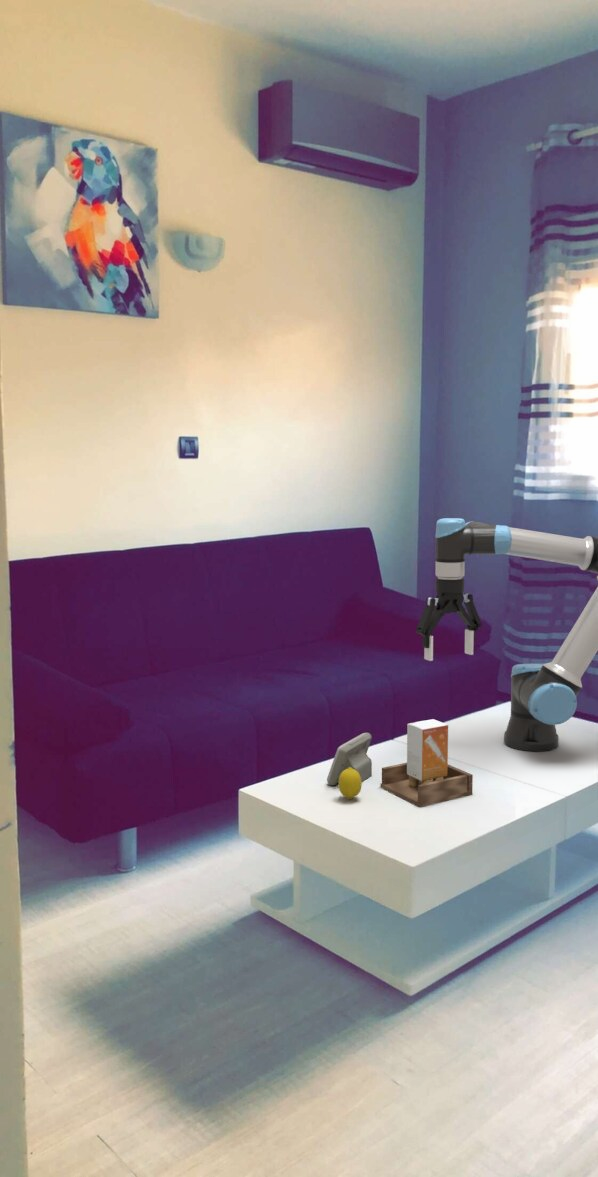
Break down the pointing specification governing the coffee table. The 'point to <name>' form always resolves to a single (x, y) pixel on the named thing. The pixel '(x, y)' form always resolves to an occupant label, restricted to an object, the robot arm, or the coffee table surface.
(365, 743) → the digital clock
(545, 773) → the coffee table surface
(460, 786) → the peg frame
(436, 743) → the small box
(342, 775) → the lemon
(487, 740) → the coffee table surface
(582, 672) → the robot arm
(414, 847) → the coffee table surface
